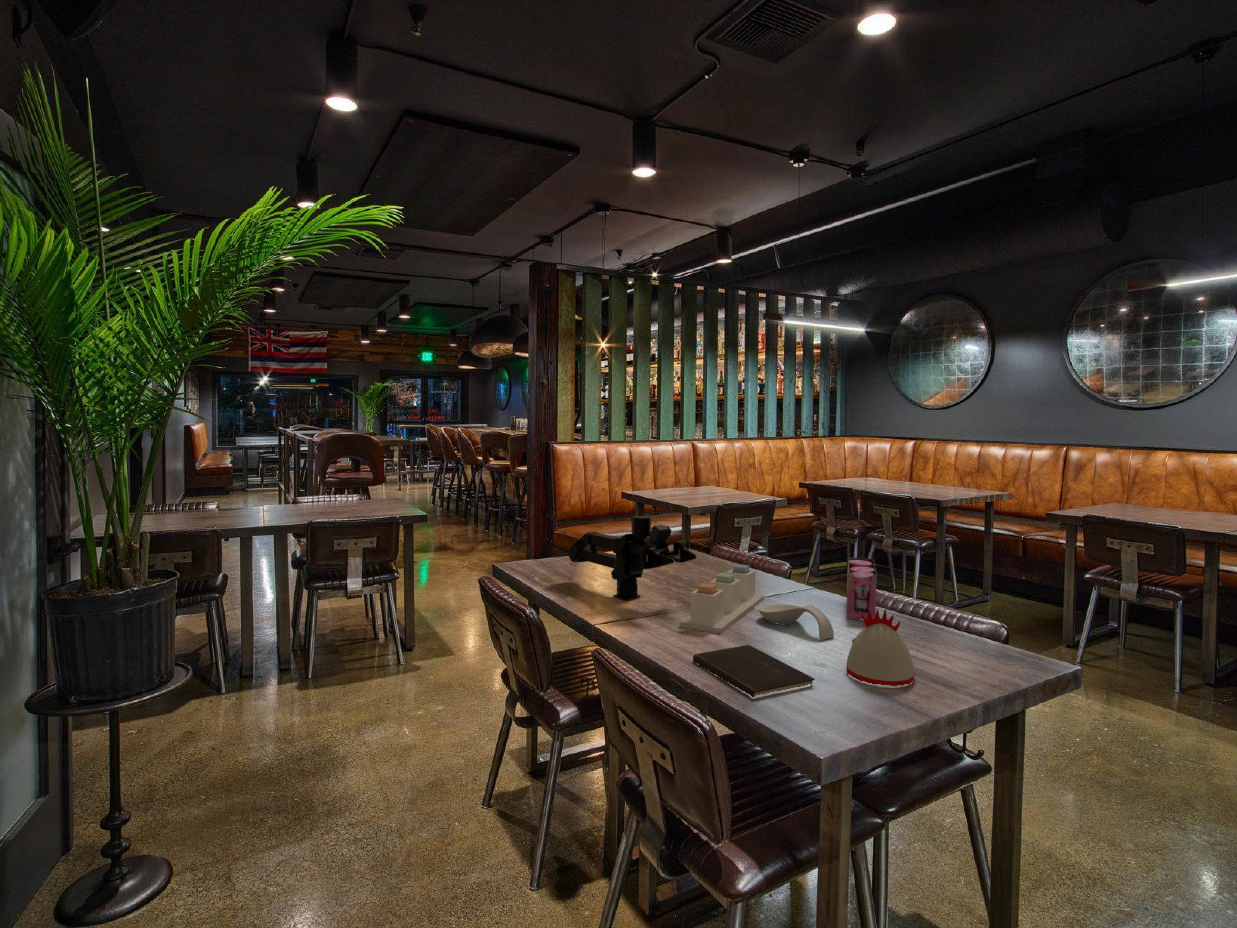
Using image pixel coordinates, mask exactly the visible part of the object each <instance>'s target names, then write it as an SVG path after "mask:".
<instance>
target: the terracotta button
mask: <svg viewBox="0 0 1237 928" xmlns="http://www.w3.org/2000/svg"><path fill="white" fill-rule="evenodd" d="M697 589H698V593H704V594H711V595H713V594H715V593H716V592H717V585H715V584H710V583H708V582H702V583H700V584H699V585H698V586H697Z"/></svg>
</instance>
